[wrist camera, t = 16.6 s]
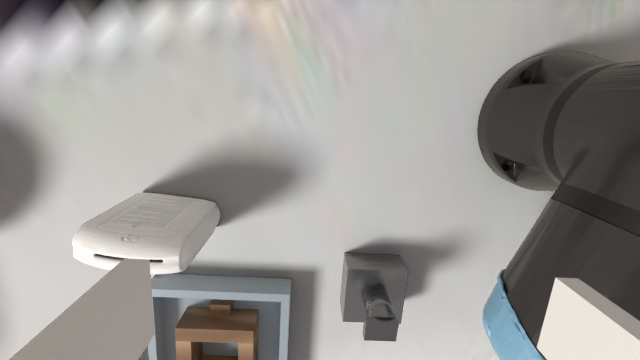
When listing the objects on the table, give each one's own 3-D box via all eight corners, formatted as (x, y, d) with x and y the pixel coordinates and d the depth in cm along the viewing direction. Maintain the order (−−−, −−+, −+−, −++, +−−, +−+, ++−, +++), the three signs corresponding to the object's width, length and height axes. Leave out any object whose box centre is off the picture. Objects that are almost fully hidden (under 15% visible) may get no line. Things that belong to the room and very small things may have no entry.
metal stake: (399, 255, 42) (425, 303, 32) (392, 303, 44) (415, 362, 34) (344, 252, 42) (354, 300, 32) (340, 301, 44) (348, 360, 34)
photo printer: (134, 222, 40) (59, 276, 28) (134, 188, 39) (56, 229, 27) (220, 232, 41) (181, 289, 29) (222, 199, 40) (183, 244, 28)
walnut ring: (257, 367, 45) (252, 393, 41) (189, 365, 44) (178, 391, 40) (258, 299, 42) (253, 319, 38) (186, 296, 42) (174, 316, 38)
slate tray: (291, 278, 43) (289, 294, 39) (286, 386, 47) (284, 409, 43) (156, 273, 42) (143, 288, 39) (164, 382, 46) (152, 405, 43)
